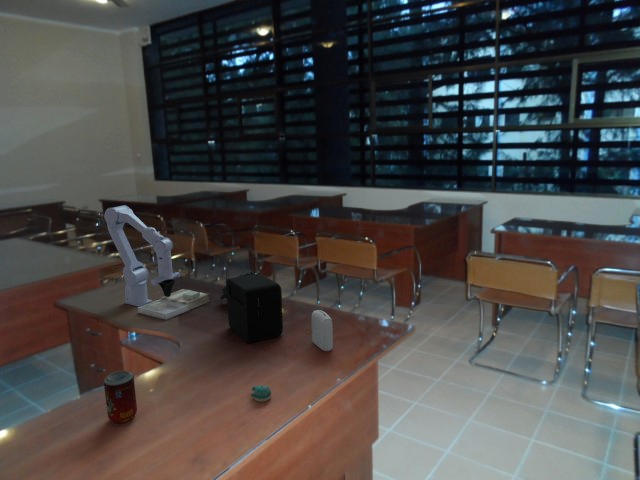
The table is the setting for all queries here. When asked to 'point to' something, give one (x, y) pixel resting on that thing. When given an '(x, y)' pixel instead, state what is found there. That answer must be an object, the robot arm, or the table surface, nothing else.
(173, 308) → the box
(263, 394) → the green domed piece
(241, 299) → the air purifier
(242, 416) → the table surface
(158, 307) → the tile cream
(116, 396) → the soda can
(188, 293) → the tile sage
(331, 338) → the photo printer
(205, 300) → the bench board
